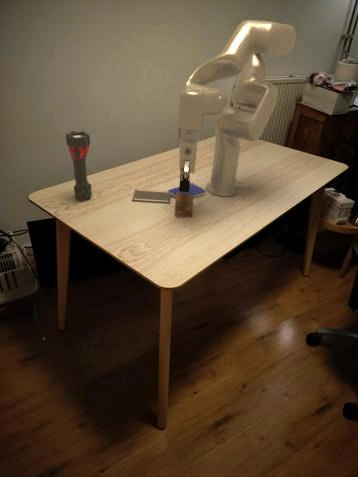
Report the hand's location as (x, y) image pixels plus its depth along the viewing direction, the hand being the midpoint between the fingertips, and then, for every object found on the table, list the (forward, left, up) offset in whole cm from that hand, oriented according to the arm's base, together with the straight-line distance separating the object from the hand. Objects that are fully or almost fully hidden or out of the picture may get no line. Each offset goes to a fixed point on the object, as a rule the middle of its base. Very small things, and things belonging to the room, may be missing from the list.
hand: (184, 185), depth 110 cm
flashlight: (+36, -8, -11) cm, 39 cm away
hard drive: (-1, -15, -11) cm, 18 cm away
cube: (0, -1, -11) cm, 11 cm away
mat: (+12, -11, -11) cm, 19 cm away
